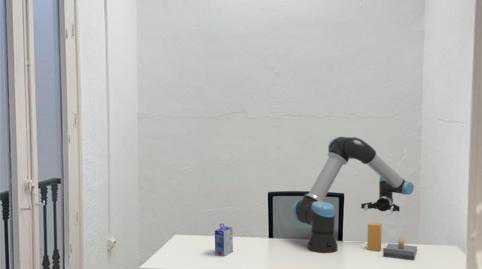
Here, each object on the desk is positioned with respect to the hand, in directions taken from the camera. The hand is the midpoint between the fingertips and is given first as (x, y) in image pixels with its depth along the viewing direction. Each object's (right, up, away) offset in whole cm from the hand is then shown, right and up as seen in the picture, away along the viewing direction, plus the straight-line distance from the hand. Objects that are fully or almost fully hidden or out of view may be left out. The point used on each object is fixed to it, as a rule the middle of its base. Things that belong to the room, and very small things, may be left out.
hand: (377, 209), depth 246 cm
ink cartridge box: (-82, -18, -21) cm, 86 cm away
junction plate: (+6, -19, -16) cm, 26 cm away
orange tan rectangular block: (-5, -19, -9) cm, 21 cm away
